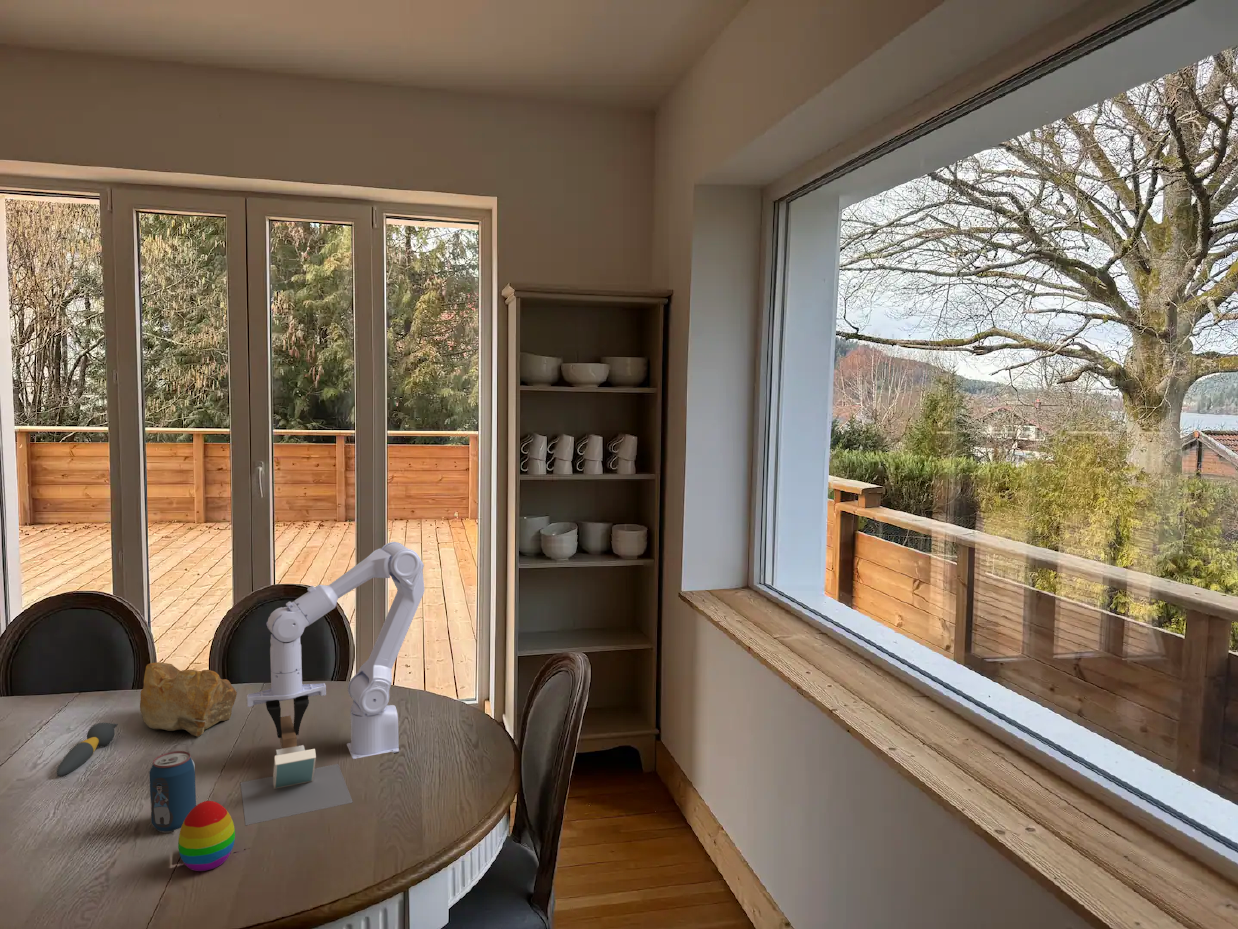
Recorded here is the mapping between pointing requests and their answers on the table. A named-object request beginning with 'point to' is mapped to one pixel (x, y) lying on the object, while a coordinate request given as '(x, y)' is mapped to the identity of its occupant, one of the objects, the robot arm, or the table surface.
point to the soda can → (172, 790)
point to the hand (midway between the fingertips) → (287, 734)
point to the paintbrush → (87, 747)
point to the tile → (294, 768)
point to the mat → (294, 796)
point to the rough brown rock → (184, 698)
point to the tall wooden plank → (288, 738)
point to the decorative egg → (206, 836)
